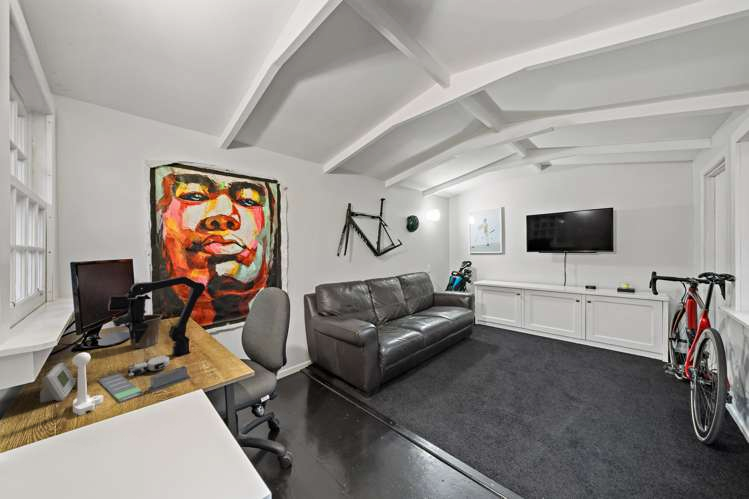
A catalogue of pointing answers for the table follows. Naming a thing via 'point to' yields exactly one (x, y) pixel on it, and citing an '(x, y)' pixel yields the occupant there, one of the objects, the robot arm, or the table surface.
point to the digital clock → (57, 383)
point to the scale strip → (120, 387)
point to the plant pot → (149, 332)
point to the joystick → (84, 387)
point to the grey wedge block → (168, 378)
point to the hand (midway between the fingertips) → (134, 341)
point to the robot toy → (149, 365)
